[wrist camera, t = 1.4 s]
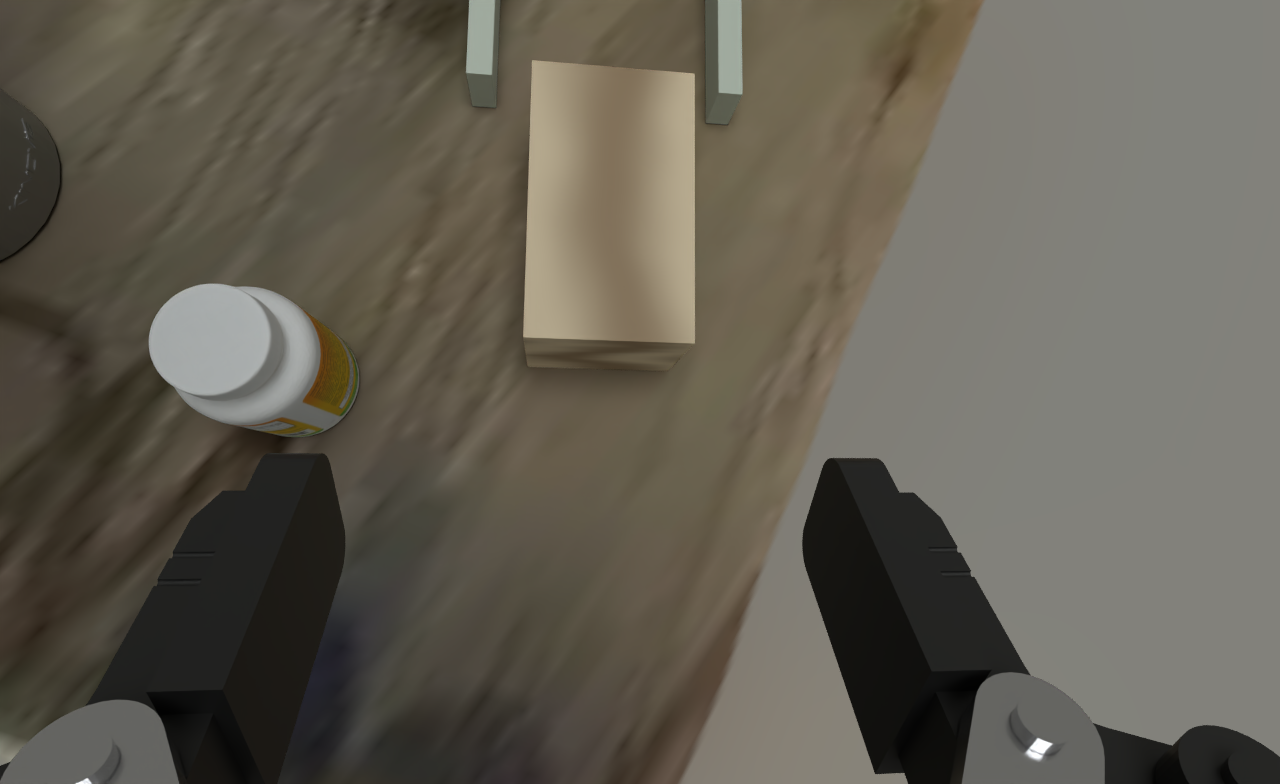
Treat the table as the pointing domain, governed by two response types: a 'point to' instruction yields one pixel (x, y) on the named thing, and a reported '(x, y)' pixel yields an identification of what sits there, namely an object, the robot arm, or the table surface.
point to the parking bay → (719, 56)
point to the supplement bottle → (253, 360)
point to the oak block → (610, 218)
